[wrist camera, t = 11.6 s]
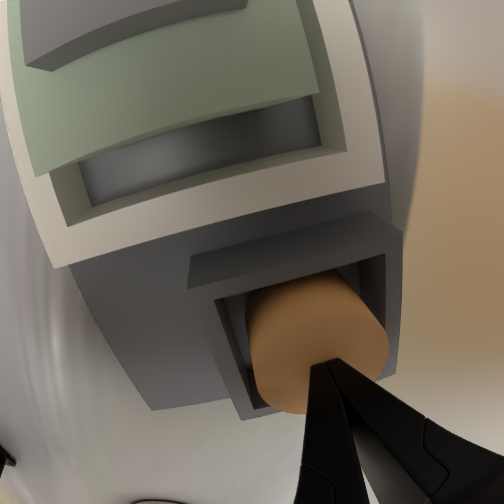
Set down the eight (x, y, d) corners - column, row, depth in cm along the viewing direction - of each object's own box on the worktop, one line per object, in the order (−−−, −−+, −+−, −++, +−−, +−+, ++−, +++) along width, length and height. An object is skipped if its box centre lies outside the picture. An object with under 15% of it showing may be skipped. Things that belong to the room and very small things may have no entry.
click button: (354, 338, 12) (385, 390, 9) (257, 366, 12) (270, 426, 9) (348, 249, 10) (391, 293, 8) (232, 280, 10) (240, 338, 7)
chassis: (384, 342, 14) (411, 381, 11) (152, 401, 13) (147, 447, 11) (303, -99, 6) (324, -135, 3) (15, -21, 5) (-22, -41, 3)
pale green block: (263, 108, 9) (340, 87, 3) (119, 148, 9) (8, 188, 3) (221, -52, 6) (237, -170, 1) (85, -12, 6) (-4, -91, 1)
